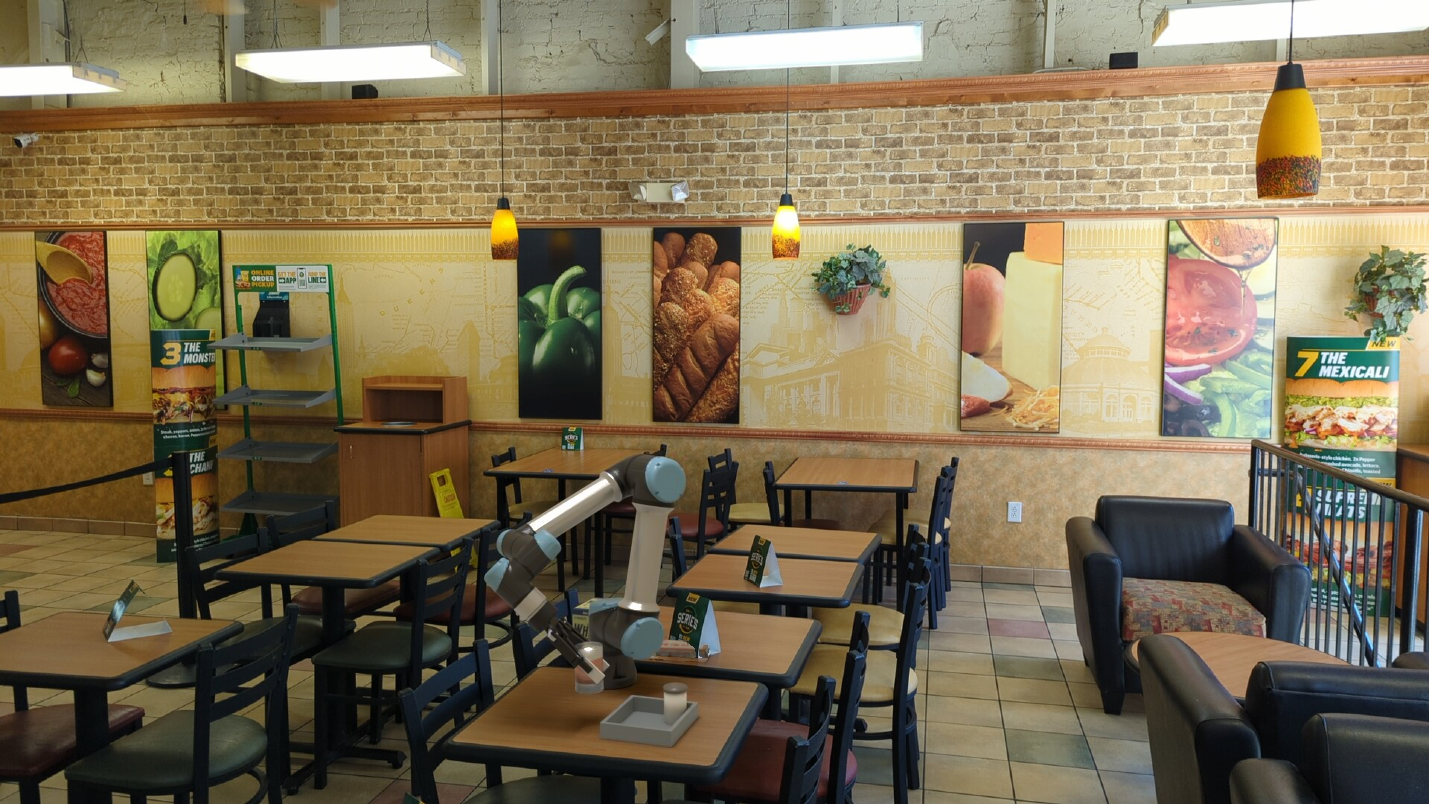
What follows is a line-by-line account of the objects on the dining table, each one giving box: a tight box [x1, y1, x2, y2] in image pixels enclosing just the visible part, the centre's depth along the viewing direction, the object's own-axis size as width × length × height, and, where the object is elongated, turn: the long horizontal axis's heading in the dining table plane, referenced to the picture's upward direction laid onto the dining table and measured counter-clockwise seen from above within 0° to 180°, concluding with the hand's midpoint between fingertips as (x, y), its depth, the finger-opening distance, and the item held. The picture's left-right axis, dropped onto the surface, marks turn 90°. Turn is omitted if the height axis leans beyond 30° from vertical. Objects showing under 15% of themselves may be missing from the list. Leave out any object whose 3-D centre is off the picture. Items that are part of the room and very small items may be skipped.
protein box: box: [572, 596, 607, 640], centre depth 302 cm, size 10×16×16 cm
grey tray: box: [599, 694, 699, 748], centre depth 241 cm, size 18×20×4 cm
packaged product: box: [649, 639, 710, 661], centre depth 300 cm, size 18×5×10 cm
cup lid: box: [662, 682, 688, 694], centre depth 245 cm, size 6×6×1 cm
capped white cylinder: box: [663, 690, 688, 725], centre depth 245 cm, size 6×6×8 cm
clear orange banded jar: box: [574, 642, 605, 695], centre depth 245 cm, size 7×7×11 cm
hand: (603, 674), depth 245 cm, fingers closed on clear orange banded jar, 7 cm apart
